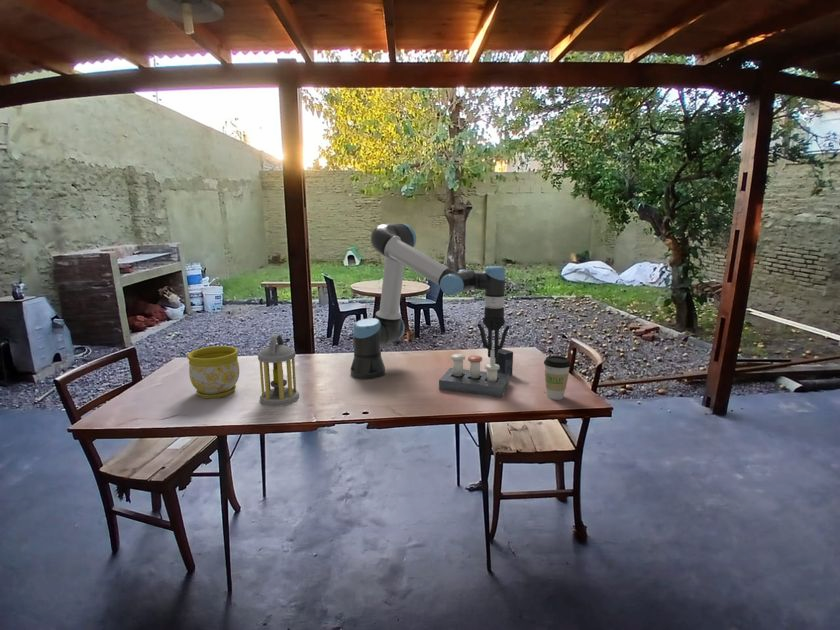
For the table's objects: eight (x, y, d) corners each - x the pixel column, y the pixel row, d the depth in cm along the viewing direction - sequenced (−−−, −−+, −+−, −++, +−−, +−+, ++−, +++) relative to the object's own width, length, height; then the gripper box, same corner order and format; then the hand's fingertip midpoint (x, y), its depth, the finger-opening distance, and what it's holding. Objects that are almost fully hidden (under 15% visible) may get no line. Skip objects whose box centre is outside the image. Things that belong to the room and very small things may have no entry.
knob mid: (466, 378, 189) (466, 358, 187) (469, 373, 194) (470, 355, 192) (480, 379, 187) (480, 360, 185) (483, 375, 192) (483, 356, 190)
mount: (438, 389, 188) (439, 380, 187) (450, 376, 203) (450, 367, 202) (501, 397, 180) (502, 387, 179) (508, 383, 194) (509, 374, 194)
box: (512, 374, 205) (513, 351, 203) (503, 377, 202) (504, 353, 199) (498, 370, 211) (499, 347, 209) (490, 373, 207) (490, 349, 205)
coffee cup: (536, 394, 183) (538, 356, 180) (557, 390, 187) (559, 353, 184) (553, 403, 174) (555, 364, 171) (574, 399, 178) (577, 361, 175)
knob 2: (483, 386, 187) (483, 367, 185) (486, 381, 192) (486, 362, 190) (497, 388, 185) (498, 368, 183) (500, 383, 190) (500, 364, 189)
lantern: (267, 391, 186) (263, 329, 181) (303, 391, 186) (300, 330, 180) (254, 405, 172) (248, 339, 167) (292, 406, 172) (288, 339, 167)
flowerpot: (218, 404, 174) (214, 361, 170) (180, 397, 180) (175, 356, 177) (251, 387, 190) (248, 348, 187) (215, 382, 197) (212, 343, 193)
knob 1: (449, 376, 191) (449, 357, 189) (453, 371, 196) (453, 353, 194) (462, 377, 189) (463, 358, 187) (466, 373, 194) (466, 354, 193)
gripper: (475, 307, 180) (474, 366, 185) (509, 309, 176) (507, 369, 181) (479, 303, 187) (478, 360, 192) (512, 305, 183) (510, 364, 188)
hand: (492, 365), depth 187 cm, fingers closed
